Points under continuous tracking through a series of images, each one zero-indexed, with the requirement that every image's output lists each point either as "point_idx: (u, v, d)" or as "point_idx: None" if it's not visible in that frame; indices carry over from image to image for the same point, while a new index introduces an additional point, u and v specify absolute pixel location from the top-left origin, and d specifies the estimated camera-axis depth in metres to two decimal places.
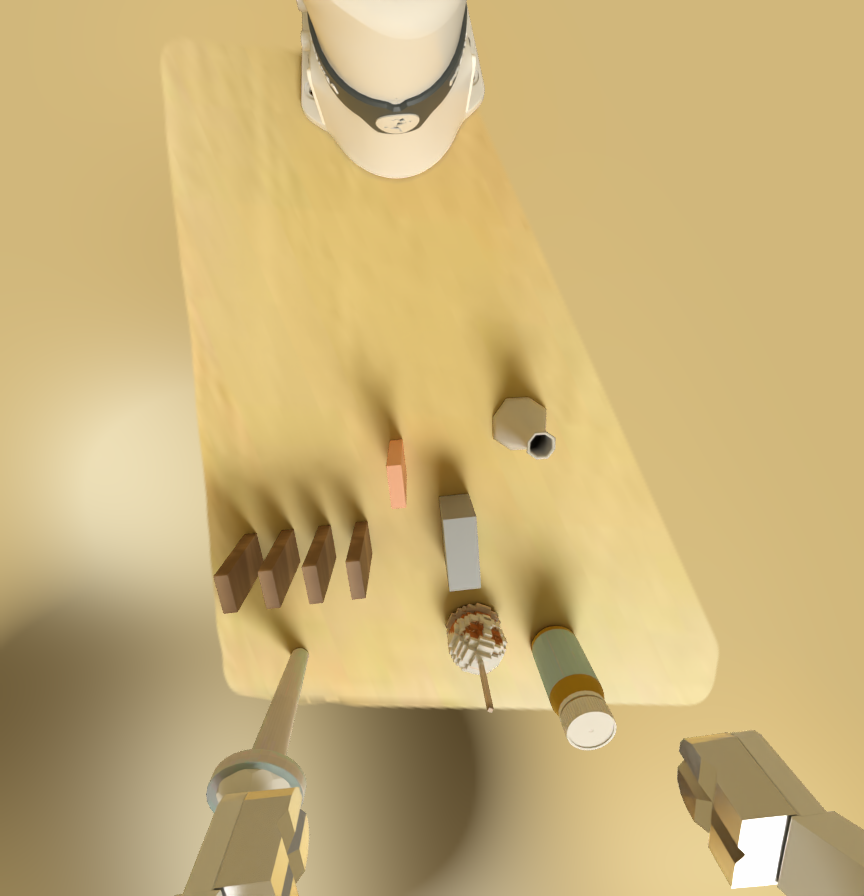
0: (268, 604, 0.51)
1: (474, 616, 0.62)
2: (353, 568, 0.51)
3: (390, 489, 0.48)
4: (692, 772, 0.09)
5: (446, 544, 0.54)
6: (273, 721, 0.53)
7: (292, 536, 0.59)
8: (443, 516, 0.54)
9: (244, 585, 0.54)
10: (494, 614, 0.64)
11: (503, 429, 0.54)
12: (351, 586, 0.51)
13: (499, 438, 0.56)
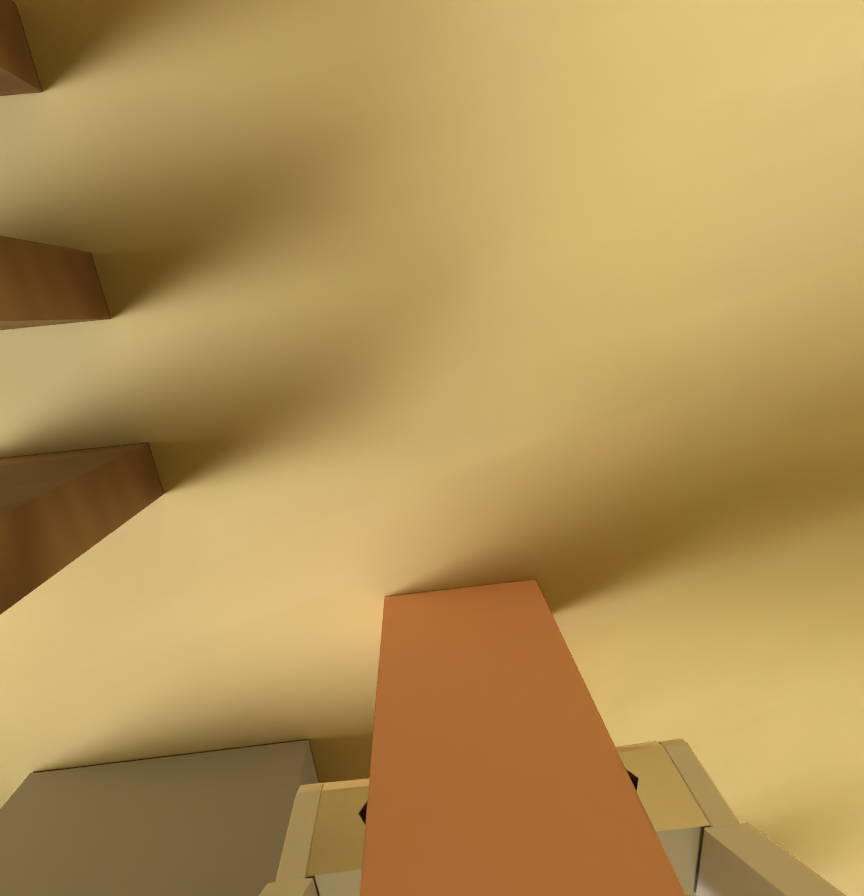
0: None
1: None
2: None
3: None
4: None
5: None
6: None
7: None
8: None
9: None
10: None
11: None
12: None
13: None
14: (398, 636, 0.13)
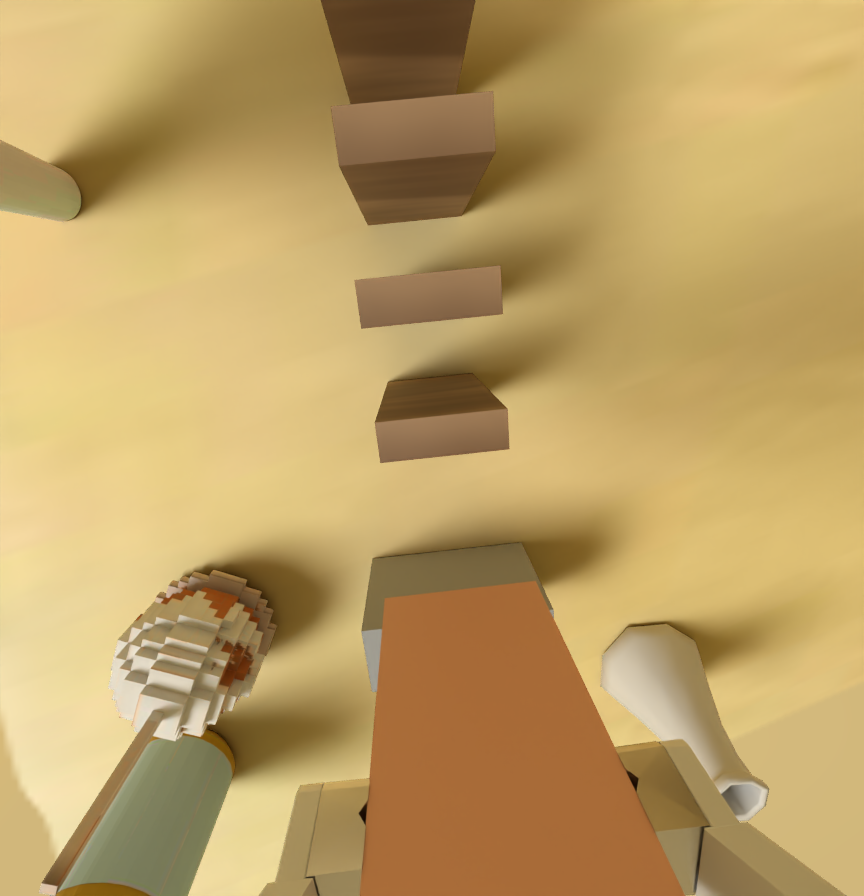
0: (351, 117, 0.14)
1: (258, 643, 0.27)
2: (485, 431, 0.17)
3: None
4: None
5: None
6: None
7: (452, 212, 0.23)
8: None
9: (370, 29, 0.16)
10: None
11: (669, 659, 0.30)
12: (422, 423, 0.17)
13: (643, 648, 0.30)
14: (398, 638, 0.13)
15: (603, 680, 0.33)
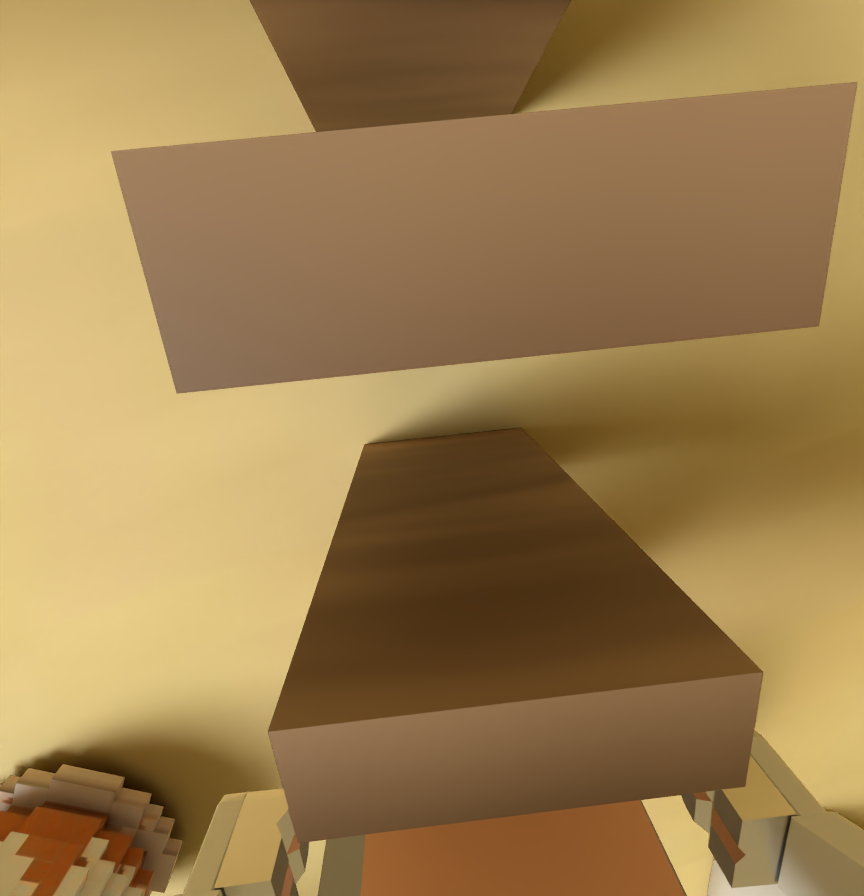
0: None
1: None
2: (671, 741, 0.05)
3: None
4: None
5: None
6: None
7: (494, 102, 0.11)
8: None
9: None
10: None
11: None
12: (447, 726, 0.04)
13: None
14: None
15: (713, 895, 0.21)
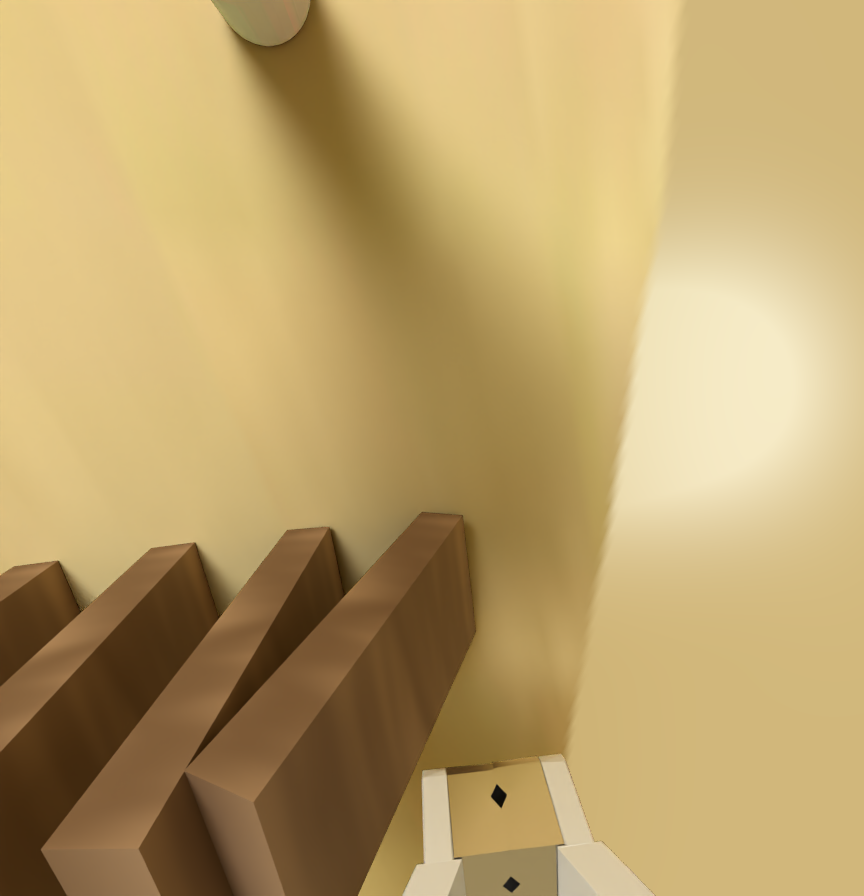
0: (130, 874, 0.07)
1: None
2: None
3: None
4: None
5: None
6: None
7: None
8: None
9: None
10: None
11: None
12: None
13: None
14: None
15: None
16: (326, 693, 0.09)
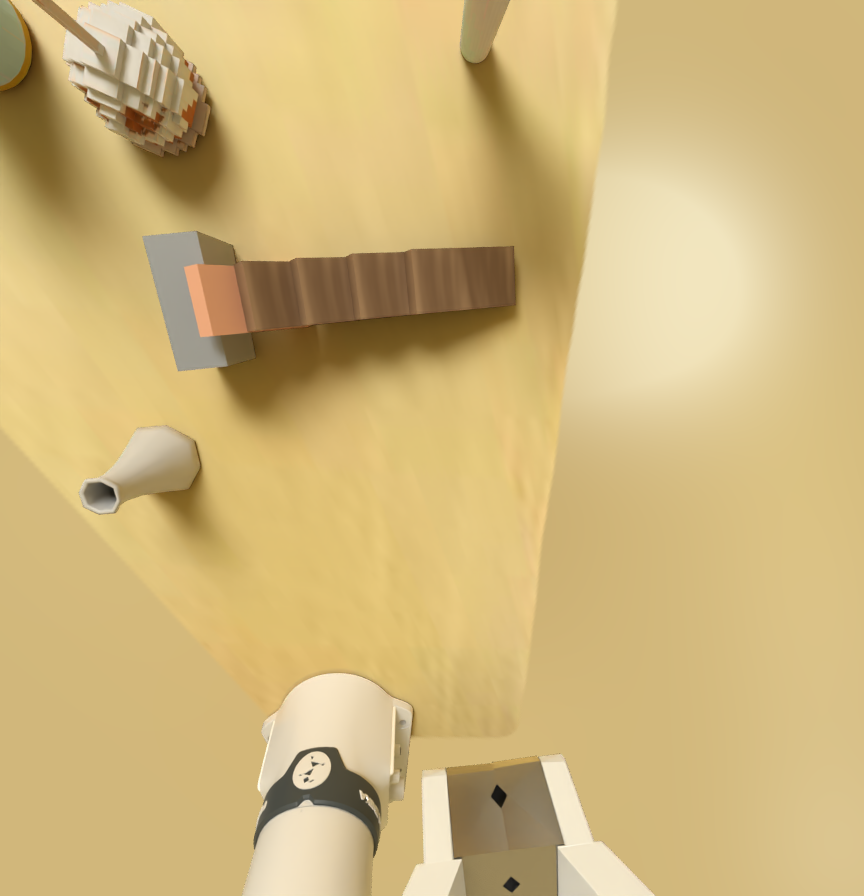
0: (352, 262, 0.35)
1: (153, 141, 0.34)
2: (249, 319, 0.34)
3: (203, 298, 0.32)
4: None
5: None
6: None
7: None
8: None
9: None
10: None
11: (178, 465, 0.42)
12: (246, 286, 0.33)
13: (182, 448, 0.43)
14: None
15: (143, 429, 0.43)
16: None
